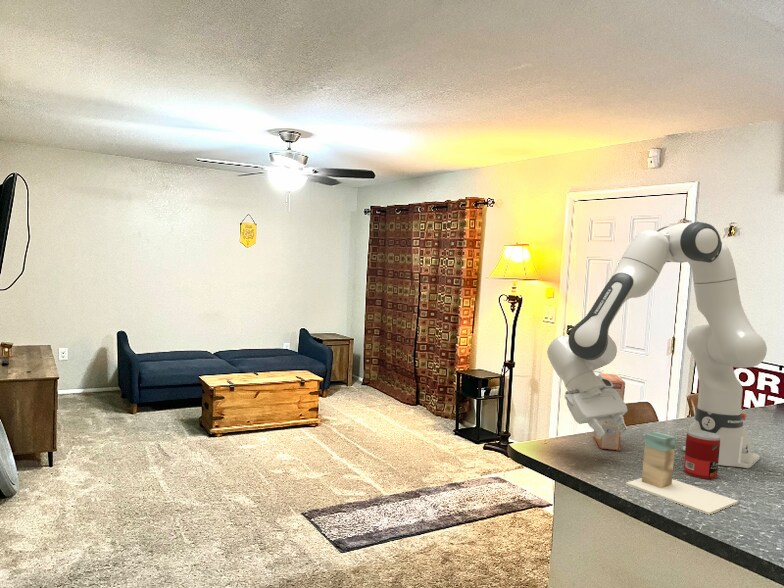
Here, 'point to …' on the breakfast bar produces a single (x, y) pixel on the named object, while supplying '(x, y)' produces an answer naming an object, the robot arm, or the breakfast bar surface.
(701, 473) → the canned food
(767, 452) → the breakfast bar surface
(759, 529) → the breakfast bar surface
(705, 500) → the felt mat
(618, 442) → the cracker box
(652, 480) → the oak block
